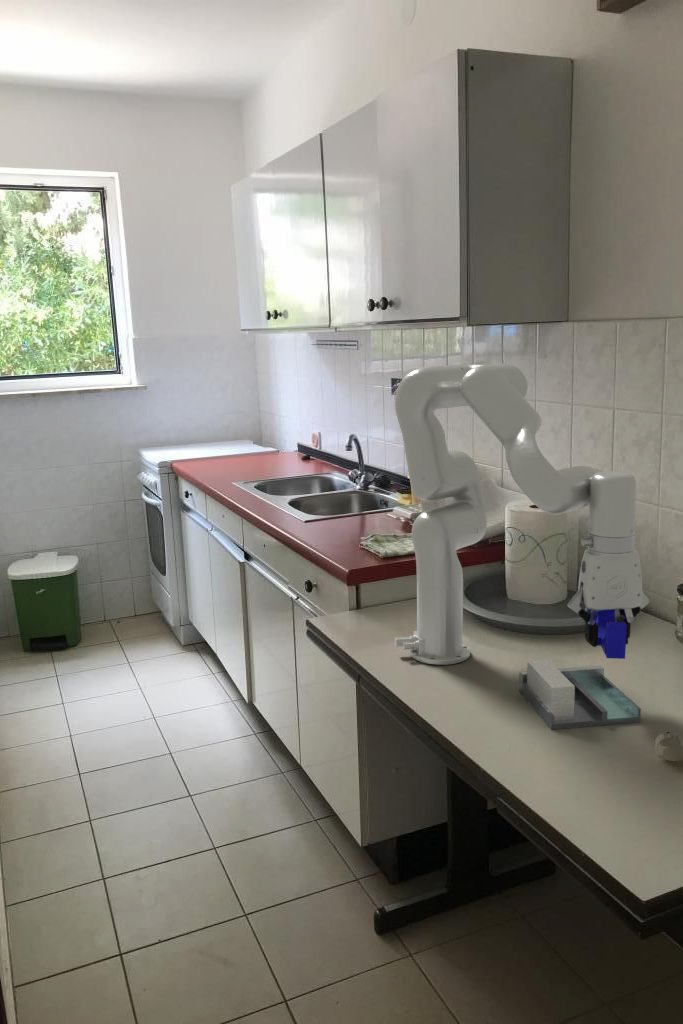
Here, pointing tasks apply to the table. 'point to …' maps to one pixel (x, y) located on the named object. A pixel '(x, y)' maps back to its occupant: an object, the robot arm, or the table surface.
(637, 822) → the table surface
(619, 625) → the blue curved block
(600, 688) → the grey holder tray
